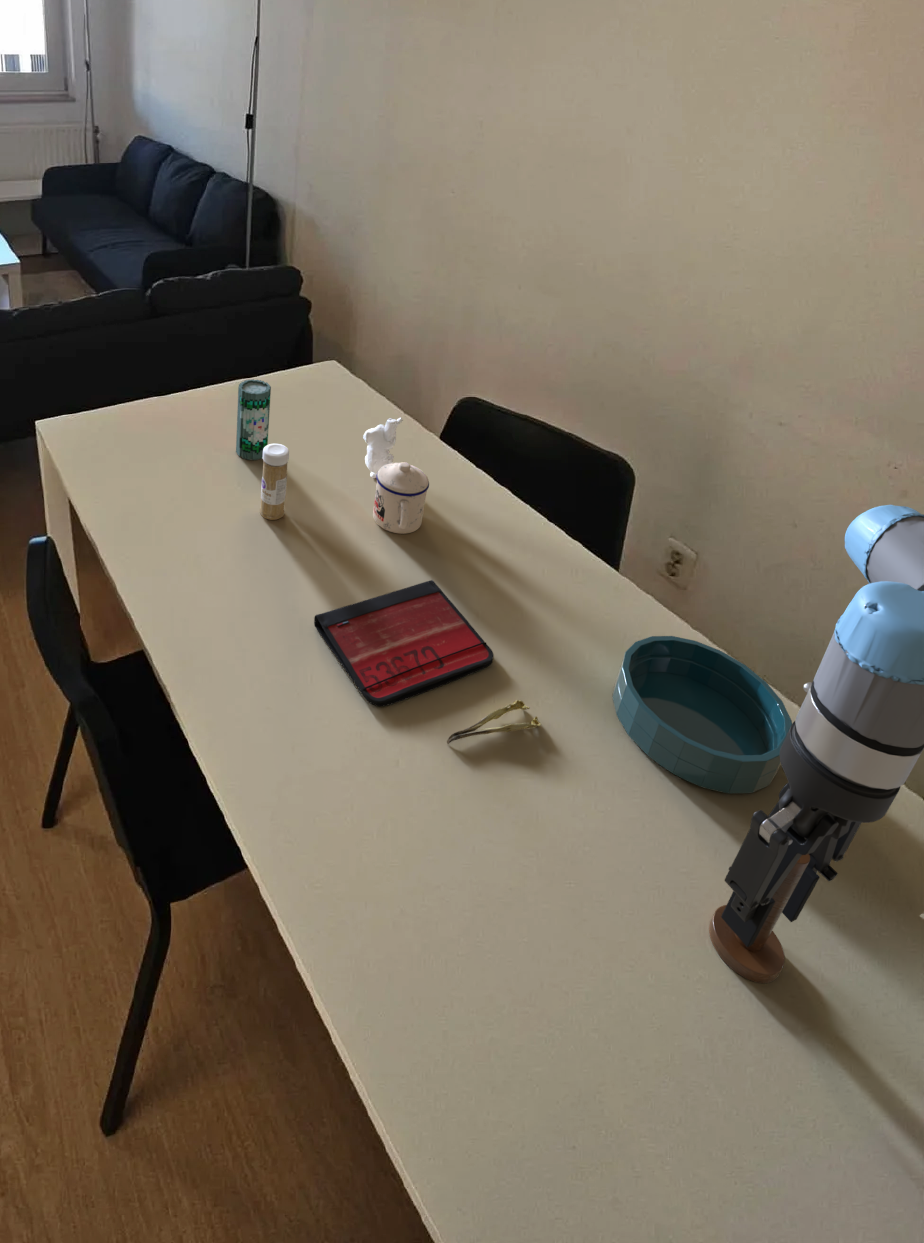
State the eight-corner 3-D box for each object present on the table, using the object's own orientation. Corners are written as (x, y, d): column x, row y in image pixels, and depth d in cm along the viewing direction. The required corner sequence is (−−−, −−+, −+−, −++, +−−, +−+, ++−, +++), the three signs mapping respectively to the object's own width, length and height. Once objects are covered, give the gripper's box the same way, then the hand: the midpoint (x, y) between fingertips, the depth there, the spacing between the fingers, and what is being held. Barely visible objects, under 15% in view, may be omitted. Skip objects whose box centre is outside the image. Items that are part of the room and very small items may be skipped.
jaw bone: (441, 735, 93) (443, 724, 93) (519, 706, 98) (523, 695, 98) (462, 764, 90) (465, 753, 89) (543, 732, 95) (546, 721, 94)
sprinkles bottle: (254, 511, 134) (257, 447, 128) (273, 502, 136) (277, 439, 131) (270, 524, 131) (274, 459, 125) (290, 515, 133) (294, 451, 128)
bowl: (811, 767, 91) (829, 733, 89) (703, 818, 85) (718, 783, 82) (681, 653, 107) (692, 622, 105) (581, 689, 101) (591, 656, 98)
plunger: (794, 968, 71) (850, 871, 66) (751, 994, 69) (805, 896, 63) (736, 904, 77) (784, 808, 71) (694, 926, 75) (740, 829, 69)
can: (243, 462, 148) (246, 395, 142) (232, 446, 153) (234, 382, 147) (271, 457, 150) (275, 391, 144) (259, 441, 155) (263, 377, 149)
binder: (314, 613, 108) (432, 577, 116) (312, 625, 109) (429, 588, 117) (373, 703, 95) (501, 656, 103) (371, 716, 96) (498, 668, 104)
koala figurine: (388, 460, 151) (395, 409, 146) (406, 479, 145) (414, 425, 140) (351, 467, 148) (357, 415, 143) (368, 486, 142) (374, 432, 137)
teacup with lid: (369, 501, 138) (376, 448, 133) (419, 506, 137) (428, 452, 132) (374, 544, 127) (381, 487, 122) (428, 549, 126) (437, 492, 121)
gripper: (868, 684, 68) (785, 846, 77) (727, 745, 62) (655, 913, 71) (965, 755, 62) (862, 922, 71) (819, 831, 55) (726, 1003, 65)
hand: (758, 917), depth 71 cm, fingers open, 5 cm apart
